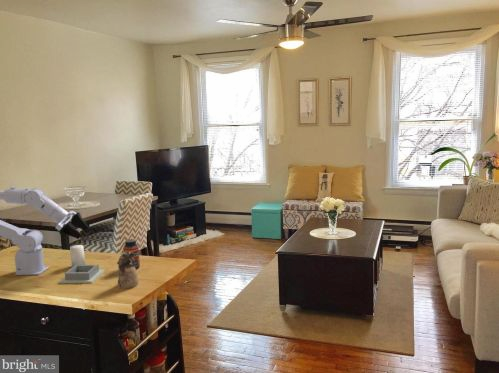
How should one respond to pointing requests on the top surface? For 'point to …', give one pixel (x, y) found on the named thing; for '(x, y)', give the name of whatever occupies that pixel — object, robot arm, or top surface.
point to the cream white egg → (77, 255)
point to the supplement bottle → (134, 248)
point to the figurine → (127, 271)
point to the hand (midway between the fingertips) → (83, 233)
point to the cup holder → (82, 274)
